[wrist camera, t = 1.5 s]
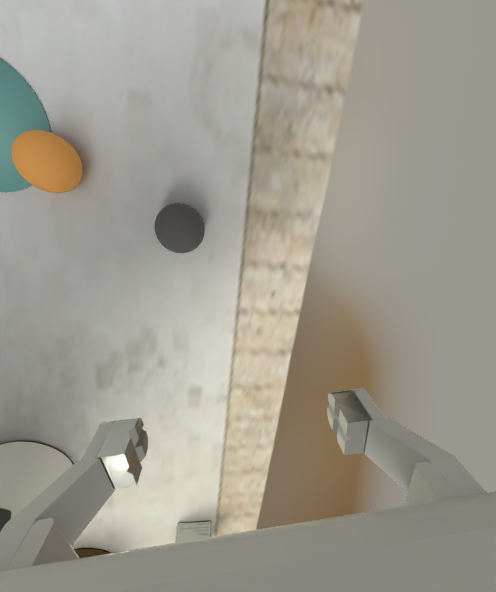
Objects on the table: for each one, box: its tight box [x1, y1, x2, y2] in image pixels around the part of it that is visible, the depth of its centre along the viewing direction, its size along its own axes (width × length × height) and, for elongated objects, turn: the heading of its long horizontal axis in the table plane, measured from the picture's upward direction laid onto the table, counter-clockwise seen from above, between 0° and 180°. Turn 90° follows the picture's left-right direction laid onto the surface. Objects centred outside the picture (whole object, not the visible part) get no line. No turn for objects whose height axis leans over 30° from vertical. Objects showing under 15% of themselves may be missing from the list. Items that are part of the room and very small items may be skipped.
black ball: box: [155, 203, 204, 253], centre depth 29 cm, size 6×6×6 cm
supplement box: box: [176, 521, 211, 543], centre depth 50 cm, size 7×7×13 cm
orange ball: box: [12, 130, 83, 193], centre depth 25 cm, size 6×6×6 cm
